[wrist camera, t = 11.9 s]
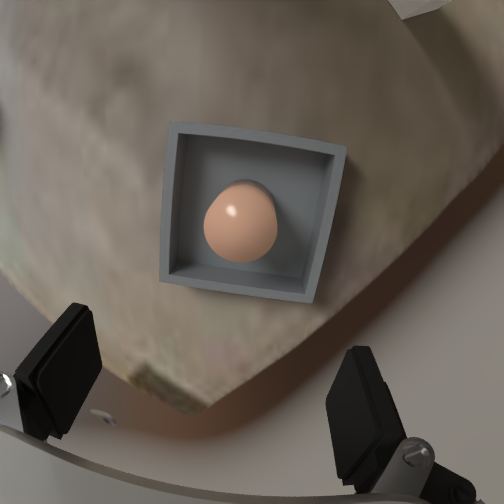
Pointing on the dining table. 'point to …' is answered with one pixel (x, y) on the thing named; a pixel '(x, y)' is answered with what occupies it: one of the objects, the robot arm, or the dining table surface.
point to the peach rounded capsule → (241, 221)
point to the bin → (285, 199)
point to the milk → (415, 7)
